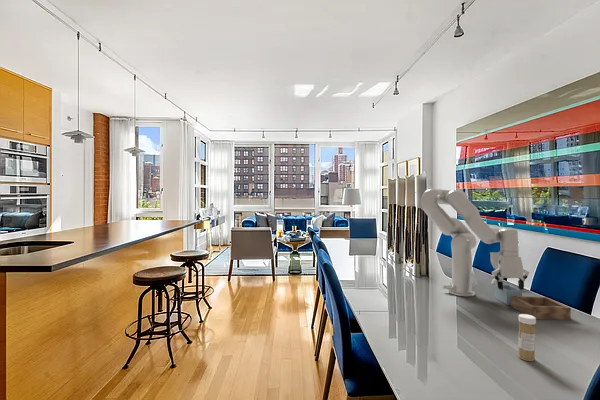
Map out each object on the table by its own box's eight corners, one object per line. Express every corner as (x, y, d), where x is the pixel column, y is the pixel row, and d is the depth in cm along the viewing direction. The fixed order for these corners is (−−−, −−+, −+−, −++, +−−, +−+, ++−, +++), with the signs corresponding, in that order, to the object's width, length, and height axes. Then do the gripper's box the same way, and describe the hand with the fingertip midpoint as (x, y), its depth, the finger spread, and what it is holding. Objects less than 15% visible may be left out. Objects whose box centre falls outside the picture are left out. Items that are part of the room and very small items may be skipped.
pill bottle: (519, 353, 112) (520, 312, 111) (536, 358, 108) (537, 315, 108) (516, 358, 108) (517, 315, 108) (533, 363, 105) (534, 319, 105)
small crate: (506, 305, 163) (506, 290, 163) (494, 298, 174) (495, 284, 174) (521, 305, 163) (522, 290, 163) (509, 298, 174) (509, 284, 174)
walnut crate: (531, 318, 145) (532, 306, 145) (511, 306, 161) (511, 296, 161) (570, 319, 144) (570, 307, 144) (546, 307, 160) (546, 297, 160)
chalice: (504, 285, 202) (504, 254, 201) (491, 284, 203) (492, 253, 203) (499, 282, 209) (500, 252, 209) (487, 281, 210) (488, 251, 210)
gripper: (495, 255, 165) (496, 291, 165) (532, 254, 164) (533, 290, 164) (487, 253, 173) (488, 287, 172) (523, 252, 171) (524, 287, 171)
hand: (510, 289), depth 168 cm, fingers open, 9 cm apart
